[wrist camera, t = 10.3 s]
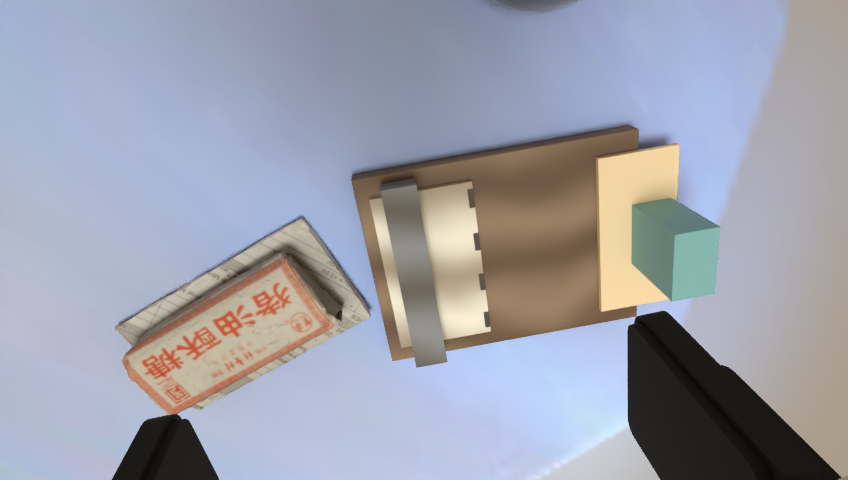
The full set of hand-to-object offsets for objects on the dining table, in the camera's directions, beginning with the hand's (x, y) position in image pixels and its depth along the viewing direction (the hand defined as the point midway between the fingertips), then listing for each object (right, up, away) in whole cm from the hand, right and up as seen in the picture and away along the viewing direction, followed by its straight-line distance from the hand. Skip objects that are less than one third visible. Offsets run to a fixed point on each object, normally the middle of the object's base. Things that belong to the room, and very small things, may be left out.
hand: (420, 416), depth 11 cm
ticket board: (+6, +3, +30) cm, 31 cm away
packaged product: (-15, -2, +31) cm, 35 cm away
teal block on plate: (+17, +4, +29) cm, 33 cm away
